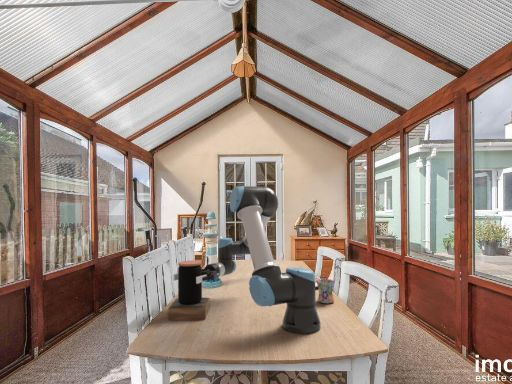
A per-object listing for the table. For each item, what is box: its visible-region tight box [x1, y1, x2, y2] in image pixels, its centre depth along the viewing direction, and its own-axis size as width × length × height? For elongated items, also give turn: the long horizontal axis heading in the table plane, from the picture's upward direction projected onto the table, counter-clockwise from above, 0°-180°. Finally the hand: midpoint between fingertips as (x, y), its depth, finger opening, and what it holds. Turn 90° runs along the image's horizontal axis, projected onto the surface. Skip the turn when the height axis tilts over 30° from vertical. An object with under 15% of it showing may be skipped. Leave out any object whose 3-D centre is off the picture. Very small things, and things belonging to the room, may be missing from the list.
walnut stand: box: [167, 297, 211, 321], centre depth 150 cm, size 16×16×5 cm
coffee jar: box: [177, 260, 203, 305], centre depth 151 cm, size 11×11×18 cm
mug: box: [316, 278, 336, 304], centre depth 168 cm, size 12×9×11 cm
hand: (185, 278), depth 148 cm, fingers open, 13 cm apart
